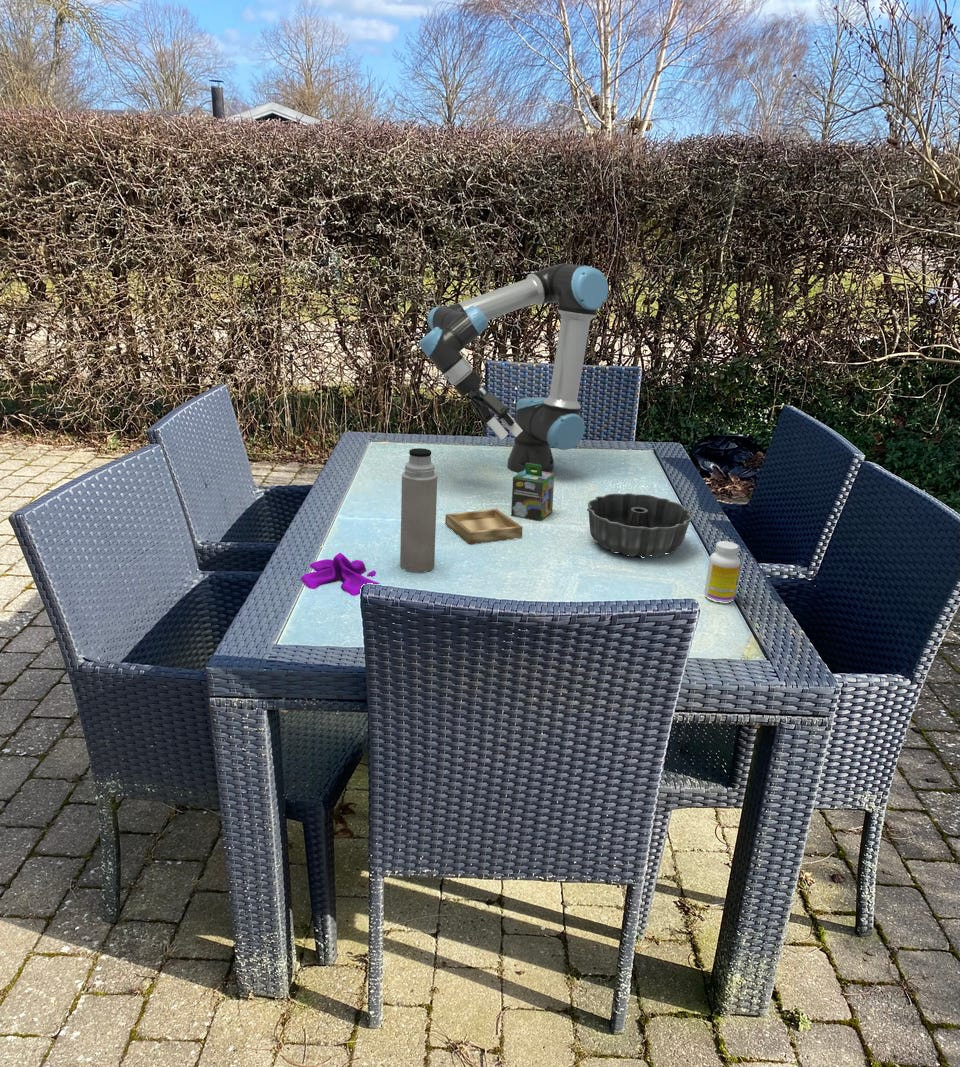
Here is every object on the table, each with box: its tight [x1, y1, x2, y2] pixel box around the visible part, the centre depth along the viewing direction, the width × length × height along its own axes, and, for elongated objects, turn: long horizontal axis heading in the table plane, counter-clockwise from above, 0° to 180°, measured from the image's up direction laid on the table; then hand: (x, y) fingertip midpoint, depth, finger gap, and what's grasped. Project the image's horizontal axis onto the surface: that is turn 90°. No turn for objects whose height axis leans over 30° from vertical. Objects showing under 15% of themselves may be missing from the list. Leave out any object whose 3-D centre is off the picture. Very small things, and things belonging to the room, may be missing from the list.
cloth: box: [300, 552, 381, 597], centre depth 201 cm, size 22×19×6 cm
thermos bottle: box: [399, 447, 438, 573], centre depth 203 cm, size 8×8×28 cm
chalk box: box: [510, 463, 555, 522], centre depth 245 cm, size 9×9×15 cm
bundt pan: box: [586, 492, 693, 558], centre depth 227 cm, size 26×26×10 cm
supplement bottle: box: [704, 540, 741, 602], centre depth 197 cm, size 7×7×13 cm
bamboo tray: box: [444, 508, 524, 545], centre depth 232 cm, size 15×15×3 cm
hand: (511, 435), depth 253 cm, fingers open, 13 cm apart
